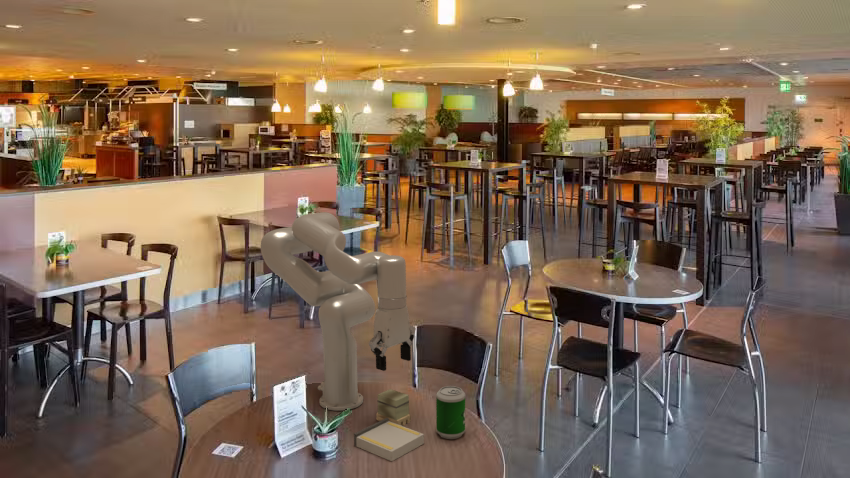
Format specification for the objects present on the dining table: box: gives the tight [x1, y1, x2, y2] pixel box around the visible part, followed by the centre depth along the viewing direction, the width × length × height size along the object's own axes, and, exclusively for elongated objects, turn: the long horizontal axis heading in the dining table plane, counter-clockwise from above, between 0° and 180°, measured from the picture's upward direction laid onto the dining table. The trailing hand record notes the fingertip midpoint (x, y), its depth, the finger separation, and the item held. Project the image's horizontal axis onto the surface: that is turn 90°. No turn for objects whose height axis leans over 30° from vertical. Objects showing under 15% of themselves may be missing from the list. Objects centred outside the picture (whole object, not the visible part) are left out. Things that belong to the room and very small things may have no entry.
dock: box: [353, 418, 425, 462], centre depth 169 cm, size 13×12×3 cm
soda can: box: [435, 385, 466, 440], centre depth 174 cm, size 8×8×12 cm
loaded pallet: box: [376, 388, 412, 426], centre depth 182 cm, size 8×5×8 cm, turn 50°
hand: (393, 364), depth 180 cm, fingers open, 9 cm apart
